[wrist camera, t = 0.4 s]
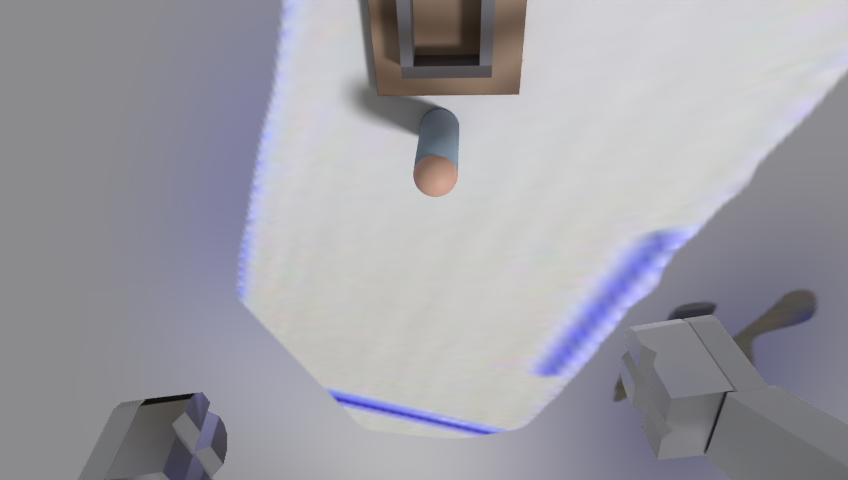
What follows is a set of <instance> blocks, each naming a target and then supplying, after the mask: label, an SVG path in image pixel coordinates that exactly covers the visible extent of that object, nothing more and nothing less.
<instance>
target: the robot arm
mask: <svg viewBox="0 0 848 480" xmlns="http://www.w3.org/2000/svg"><path fill="white" fill-rule="evenodd" d="M624 343H625V345H626V347H627V349H628V351H627V352H626V353H625V354H624V355H623V356H622V359H621V374H622V381H623V385H624V388H625V391H626V394H627V396H628V399H629V401H630V403H631V405H632V406H633V407H635V408H636V409H637V410H639V411H640V412H641V413H643V414H644V415H643V421H642V429H643V431H644V433H645V435H646V437H647V439H648V442H649V444H650V446H651V448H652V450H653V452H654V455H655V457H656V459H657V460H663V459H672V458H681V457H690V456H698V455H706V456H705V457H706V458H707V459H708V460H709V461H710V462H711V463H713V464H714V465H715V466H716V467H717V468H719V469H720V470H721V471H722V472H723V473H725V474H726V475H727V476H728V477H729V478H731V479H732V480H848V425H847V424H845V423H843V422H842V421H840V420H838V419H837V418H835V417H833V416H831V415H829V414H828V413H826V412H824V411H822V410H820V409H818V408H817V407H815V406H813V405H811V404H809V403H808V402H806V401H804V400H802V399H800V398H799V397H797V396H795V395H793V394H791V393H790V392H788V391H786V390H784V389H782V388H781V387H779V386H769V387H768V385H767V384H766V383H765V381H764V380H763V379H762V377H761V376H760V375H759V373H758V372H757V371H756V369H755V368H754V367H753V365H752V364H751V363H750V362H749V360H748V359H747V358H746V356H745V355H744V354H743V352H742V351H741V350H740V348H739V347H738V346H737V344H736V343H735V342H734V340H733V339H732V338H731V336H730V335H729V334H728V332H727V331H726V330H725V328H724V327H723V326H722V324H721V323H720V322H719V321H718V319H717V318H715V317H714V316H712V315H706V316H700V317H693V318H686V319H682V320H681V319H676V320H670V321H664V322H658V323H652V324H646V325H640V326H634V327H628V328H627V330H626V332H625V336H624ZM209 405H210V402H209V401H208V399H207V398H206V396H205V395H204V394H203V393H202V392H201V393H191V394H183V395H175V396H166V397H158V398H150V399H144V400H136V401H129V402H122V403H120V404H119V405H118V406H117V407H116V408H115V409H114V410H113V411H112V413H111V415H110V417H109V419H108V421H107V423H106V425H105V427H104V429H103V431H102V433H101V435H100V437H99V439H98V441H97V443H96V445H95V447H94V449H93V451H92V453H91V455H90V457H89V459H88V460H87V462H86V465H85V466H84V468H83V470H82V472H81V474H80V476H79V478H78V480H214V479H213V476H214V474H215V473H216V472H217V471H218V470H219V469H220V468H221V466H222V465H223V464H224V460H225V456H226V452H227V432H226V429H225V426H224V423H223V421H222V420H221V418H220V417H219V416H218V415H215V414H213V413H211V412H209V411H208V407H209Z"/></svg>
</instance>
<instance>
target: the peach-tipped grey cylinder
mask: <svg viewBox="0 0 848 480" xmlns="http://www.w3.org/2000/svg"><path fill="white" fill-rule="evenodd" d="M458 147H459V122H458V120H457V118H456V117H455V115H454V114H452V113H451V112H449V111H447V110H444V109H436V110H432V111H430V112H428V113H427V114H426V115H425V116H424V117H423V119H422V121H421V127H420V133H419V140H418V146H417V153H416V159H415V166H414V173H413V177H414V181H415V184H416V186H417V187H418V189H419V190H420V191H421V192H422V193H424V194H426V195H428V196H432V197H439V196H443V195H445V194H447V193H448V192H450V191H451V190H452V189H453V187H454V186H455V184H456V181H457V176H458Z"/></svg>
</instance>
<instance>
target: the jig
mask: <svg viewBox="0 0 848 480" xmlns="http://www.w3.org/2000/svg"><path fill="white" fill-rule="evenodd" d="M526 5H527V0H368V7H369V16H370V26H371V35H372V45H373V54H374V63H375V73H376V82H377V92H378V96H425V95H512V94H519V89H520V77H521V65H522V53H523V41H524V29H525V17H526Z"/></svg>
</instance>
